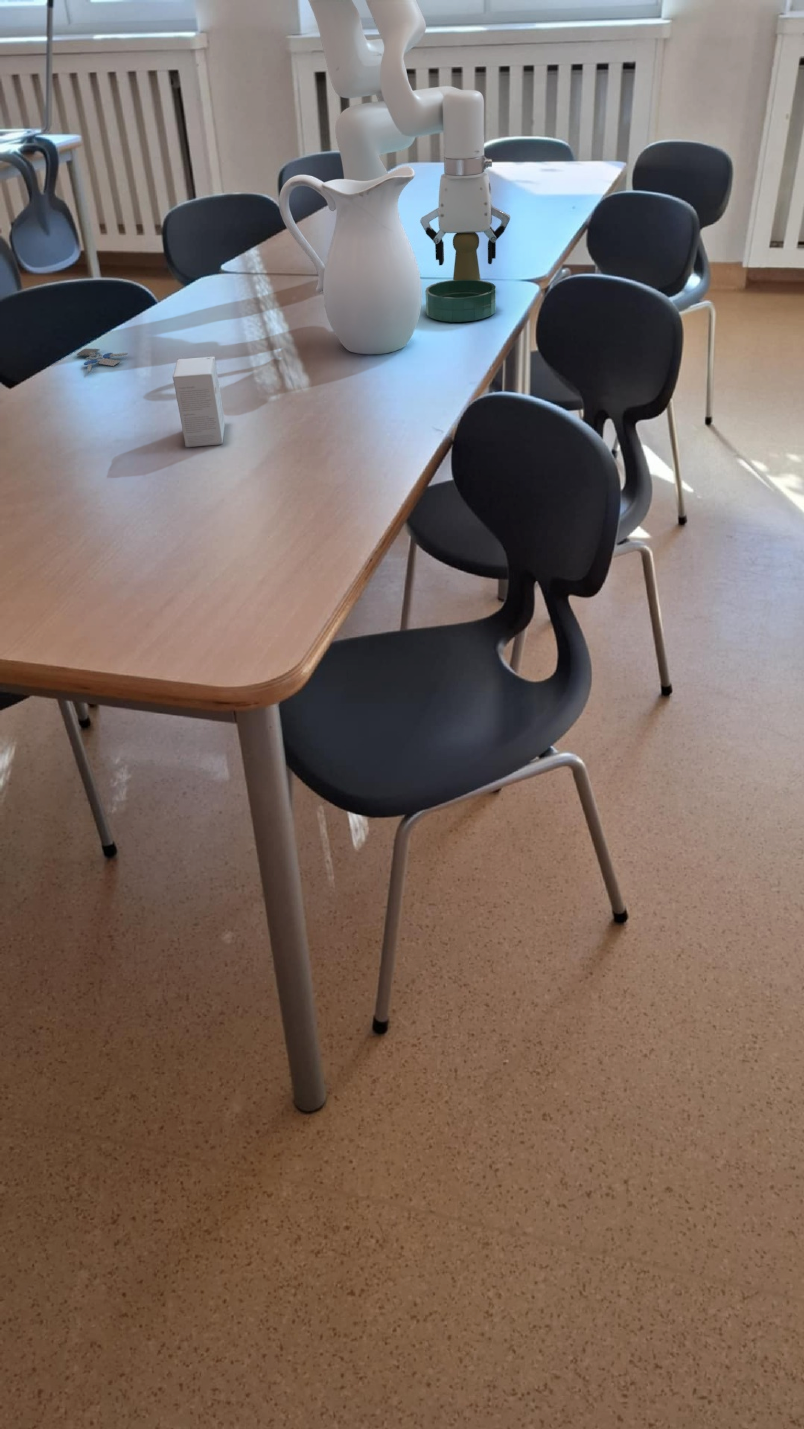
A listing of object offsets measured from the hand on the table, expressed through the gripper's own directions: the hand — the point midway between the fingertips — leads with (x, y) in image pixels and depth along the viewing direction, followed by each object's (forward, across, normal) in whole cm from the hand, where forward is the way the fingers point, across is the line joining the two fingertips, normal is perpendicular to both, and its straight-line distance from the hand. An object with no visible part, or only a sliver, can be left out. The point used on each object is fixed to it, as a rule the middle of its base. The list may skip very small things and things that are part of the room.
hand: (465, 263), depth 210 cm
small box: (+6, +33, +75) cm, 82 cm away
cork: (+5, 0, 0) cm, 5 cm away
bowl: (+6, 0, +14) cm, 15 cm away
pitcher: (+6, +17, +32) cm, 36 cm away
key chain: (+6, +62, +39) cm, 73 cm away
